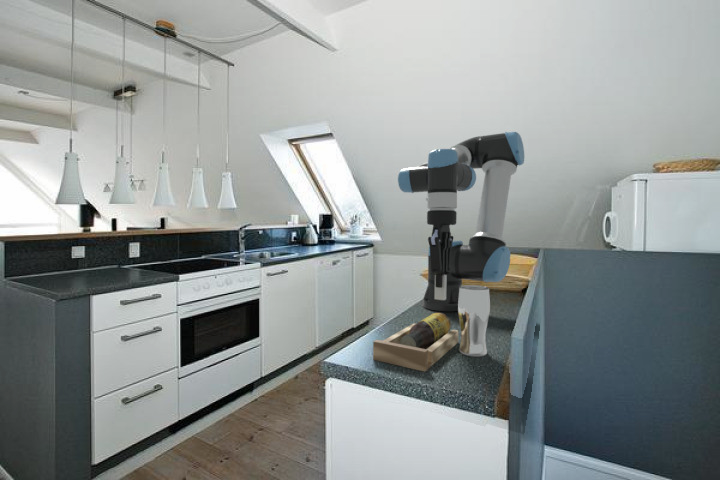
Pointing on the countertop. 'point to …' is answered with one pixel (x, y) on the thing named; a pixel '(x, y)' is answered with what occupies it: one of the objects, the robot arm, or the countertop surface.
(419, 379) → the countertop surface
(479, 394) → the countertop surface
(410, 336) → the sauce bottle
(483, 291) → the beer glass
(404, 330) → the bracket
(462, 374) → the countertop surface
